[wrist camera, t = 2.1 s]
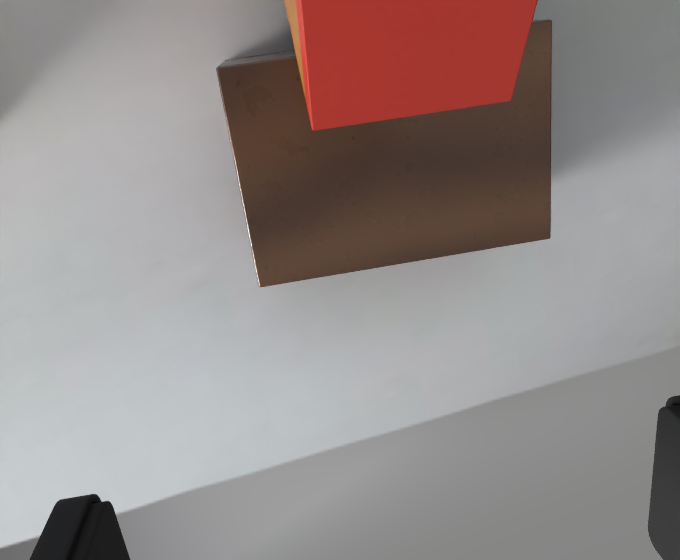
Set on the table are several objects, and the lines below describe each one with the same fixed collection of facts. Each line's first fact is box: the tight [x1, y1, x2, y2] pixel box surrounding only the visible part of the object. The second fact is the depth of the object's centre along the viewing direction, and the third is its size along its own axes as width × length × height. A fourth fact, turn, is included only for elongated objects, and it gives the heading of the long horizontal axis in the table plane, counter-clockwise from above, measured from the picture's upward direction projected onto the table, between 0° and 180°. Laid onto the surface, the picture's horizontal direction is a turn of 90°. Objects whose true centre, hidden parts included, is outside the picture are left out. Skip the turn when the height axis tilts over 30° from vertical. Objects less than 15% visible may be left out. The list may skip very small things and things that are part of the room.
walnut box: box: [216, 20, 552, 287], centre depth 28 cm, size 9×13×6 cm
